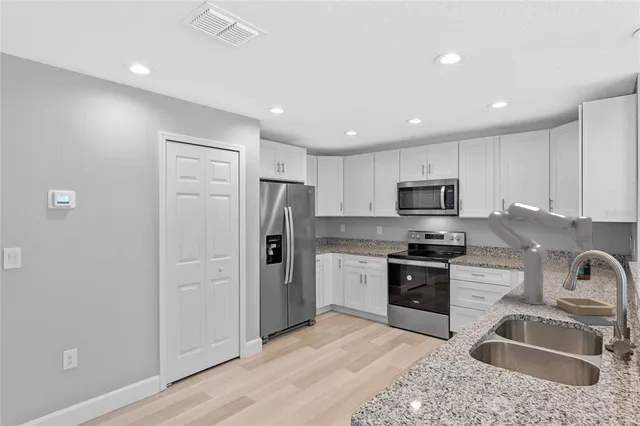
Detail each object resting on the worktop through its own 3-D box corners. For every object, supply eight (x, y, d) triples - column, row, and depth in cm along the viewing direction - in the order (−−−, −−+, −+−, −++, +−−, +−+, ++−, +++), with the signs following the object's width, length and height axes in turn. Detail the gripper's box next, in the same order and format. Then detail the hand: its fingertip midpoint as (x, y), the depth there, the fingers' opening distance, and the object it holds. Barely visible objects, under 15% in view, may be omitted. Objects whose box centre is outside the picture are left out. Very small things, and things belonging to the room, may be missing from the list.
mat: (586, 325, 161) (586, 324, 161) (567, 316, 175) (567, 315, 175) (619, 325, 160) (619, 325, 160) (597, 316, 174) (597, 316, 174)
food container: (578, 280, 182) (576, 261, 182) (568, 279, 188) (567, 260, 188) (599, 280, 183) (598, 260, 184) (589, 278, 189) (588, 260, 190)
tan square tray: (574, 315, 176) (574, 306, 176) (549, 304, 198) (549, 296, 198) (621, 316, 174) (621, 307, 174) (590, 305, 196) (590, 297, 196)
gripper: (565, 238, 195) (565, 271, 195) (586, 241, 178) (586, 276, 178) (579, 238, 195) (579, 271, 195) (602, 241, 177) (602, 277, 177)
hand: (582, 273), depth 186 cm, fingers closed on food container, 5 cm apart
